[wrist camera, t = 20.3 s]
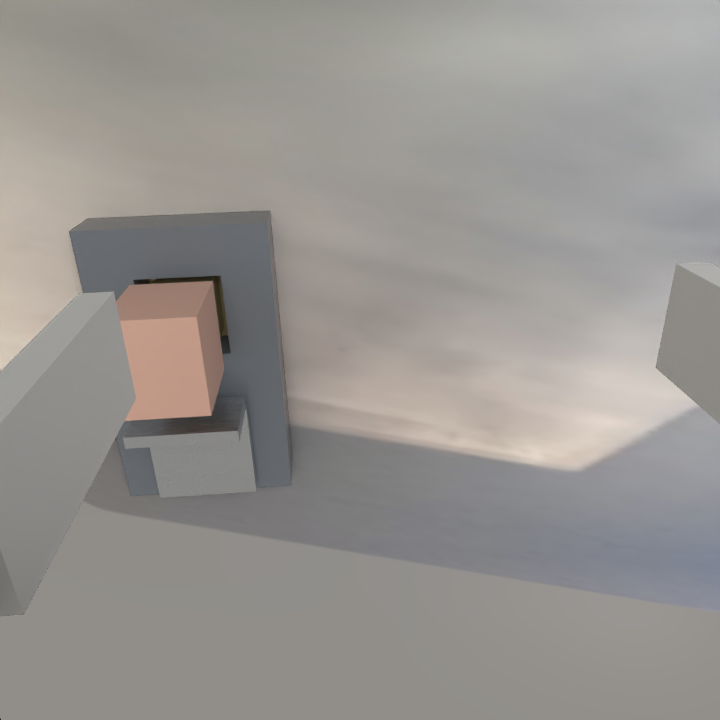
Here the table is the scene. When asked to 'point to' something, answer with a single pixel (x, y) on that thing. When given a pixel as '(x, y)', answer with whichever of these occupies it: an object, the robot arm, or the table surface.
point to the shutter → (199, 450)
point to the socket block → (239, 306)
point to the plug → (173, 346)
